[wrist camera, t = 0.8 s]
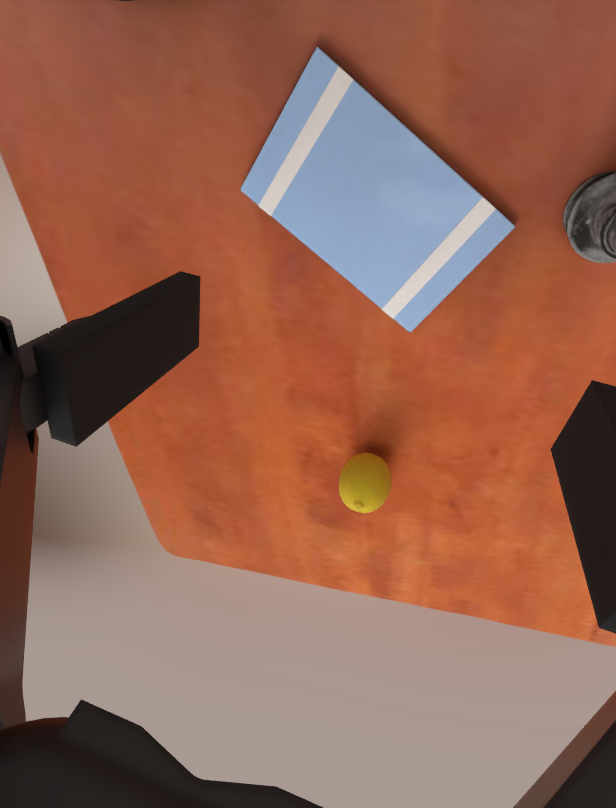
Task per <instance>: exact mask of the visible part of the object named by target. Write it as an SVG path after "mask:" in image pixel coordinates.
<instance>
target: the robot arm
mask: <svg viewBox="0 0 616 808" xmlns="http://www.w3.org/2000/svg"><path fill="white" fill-rule="evenodd" d="M199 312H200V276H196V275H193V274H189V273H185V272H181V271H180V272H178V273H176V274H174V275H172V276H170V277H168V278H166V279H164V280H162V281H160V282H158V283H156V284H154V285H152V286H150V287H148V288H146V289H144V290H142V291H140V292H138V293H136V294H134V295H132V296H130V297H128V298H126V299H124V300H122V301H120V302H118V303H116V304H114V305H112V306H110V307H108V308H106V309H104V310H102V311H100V312H98V313H96V314H94V315H92V316H88V317H84V318H79V319H75V320H73V321H71V322H68V323H67V324H64V325H62V326H61V327H60V328H56V329H54V330H52V331H50V332H49V334H48V333H46V334H44V335H42V336H40V337H38V338H36V339H34V340H32V341H30V342H28V343H26V344H23V345H21V346H19V347H17V344H16V340H15V335H14V331H13V327H12V323H11V321H10V320H9V319H7V318H5V317H2V316H0V808H323V807H321V806H318V805H316V804H314V803H312V802H309V801H307V800H305V799H303V798H301V797H298V796H296V795H294V794H292V793H289V792H287V791H285V790H283V789H280V788H278V787H274V786H263V785H254V784H243V783H232V782H221V781H211V780H203V779H199V778H197V777H195V776H194V775H193V774H191V773H190V772H189V771H188V770H187V769H186V768H185V767H184V766H183V765H182V764H180V762H178V761H177V760H176V759H175V758H174V757H173V756H172V755H171V754H170V753H169V752H168V751H167V750H166V749H165V748H164V747H163V746H162V745H160V744H159V743H158V742H157V741H156V740H155V739H154V738H153V737H152V736H151V735H150V734H149V733H148V732H147V731H146V730H145V729H144V728H142V727H141V726H139V725H137V724H135V723H133V722H131V721H128V720H126V719H124V718H121V717H119V716H117V715H115V714H112V713H110V712H108V711H106V710H104V709H101V708H99V707H97V706H95V705H93V704H90V703H88V702H86V701H84V700H81V701H80V702H79V703H78V705H77V707H76V708H75V710H74V711H73V712H72V714H71V715H70V717H69V718H67V717H59V718H43V719H38V720H33V721H27V722H26V717H25V708H24V700H23V691H22V678H23V663H24V647H25V633H26V618H27V604H28V589H29V574H30V559H31V545H32V544H31V543H32V530H33V514H34V500H35V486H36V471H37V456H38V440H39V438H38V434H37V430H36V428H37V427H38V426H40V425H41V424H43V423H44V422H46V421H47V420H48V424H49V429H50V433H51V438H53V439H56V440H59V441H61V442H65V443H67V444H70V445H73V446H76V447H77V446H78V445H79V444H80V443H81V442H83V441H84V440H85V439H86V438H88V437H89V436H90V435H91V434H93V432H95V431H96V430H97V429H99V428H100V427H101V426H102V425H104V424H105V423H106V422H107V421H108V420H110V419H111V418H112V417H113V416H115V415H116V414H117V413H118V412H119V411H121V410H122V409H123V408H124V407H126V406H127V405H128V404H129V403H130V402H132V401H133V400H134V399H135V398H137V397H138V396H139V395H140V394H141V393H143V392H144V391H145V390H146V389H148V388H149V387H150V386H151V385H152V384H154V383H155V382H156V381H157V380H159V379H160V378H161V377H162V376H163V375H165V374H166V373H167V372H168V371H169V370H171V369H172V368H173V367H174V366H176V365H177V364H178V363H179V362H180V361H182V360H183V359H184V358H185V357H187V356H188V355H189V354H190V353H191V352H193V351H194V350H195V349H196V348H198V347H199ZM551 452H552V456H553V460H554V463H555V467H556V471H557V474H558V478H559V482H560V485H561V489H562V493H563V496H564V500H565V504H566V508H567V511H568V515H569V519H570V522H571V526H572V530H573V533H574V537H575V541H576V545H577V548H578V552H579V556H580V559H581V563H582V567H583V570H584V574H585V578H586V581H587V585H588V589H589V593H590V596H591V600H592V604H593V607H594V611H595V615H596V618H597V622H598V626H599V628H601V629H604V630H607V631H610V632H613V633H616V387H615V386H612V385H608V384H604V383H600V382H597V381H593V380H592V381H591V383H590V385H589V386H588V388H587V390H586V391H585V393H584V395H583V396H582V398H581V400H580V401H579V403H578V405H577V406H576V408H575V410H574V411H573V413H572V415H571V416H570V418H569V420H568V421H567V423H566V425H565V426H564V428H563V430H562V431H561V433H560V435H559V436H558V438H557V440H556V441H555V443H554V445H553V446H552V448H551ZM513 808H616V691H615V692H614V693H613V695H612V696H611V697H610V698H609V699H608V700H607V701H606V703H605V704H604V705H603V706H602V707H601V708H600V709H599V711H598V712H597V713H596V714H595V715H594V716H593V717H592V719H591V720H590V721H589V722H588V723H587V724H586V725H585V726H584V728H583V729H582V730H581V731H580V732H579V733H578V735H577V736H576V737H575V738H574V739H573V740H572V742H571V743H570V744H569V745H568V746H567V747H566V748H565V749H564V751H563V752H562V753H561V754H560V755H559V756H558V757H557V758H556V760H555V761H554V762H553V763H552V764H551V765H550V766H549V768H548V769H547V770H546V771H545V772H544V773H543V774H542V775H541V777H540V778H539V779H538V780H537V781H536V782H535V783H534V785H533V786H532V787H531V788H530V789H529V790H528V791H527V793H526V794H525V795H524V796H523V797H522V798H521V799H520V800H519V802H518V803H517V804H516V805H515V806H514V807H513Z"/></svg>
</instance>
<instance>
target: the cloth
mask: <svg viewBox="0 0 616 808" xmlns="http://www.w3.org/2000/svg"><path fill="white" fill-rule="evenodd" d="M240 190H241V191H242V192H243V193H244V194H246V195H247V196H248V197H249V198H250V199H251V200H253V201H254V202H255V203H256V204H257V205H258V206H259V207H260V208H261V209H263V210H264V211H265V212H266V213H267V214H268V215H270V216H272V217H273V218H274V219H275V220H276V221H278V222H279V223H280V224H281V225H282V226H284V227H285V228H286V229H287V230H288V231H290V232H291V233H292V234H293V235H294V236H296V237H297V238H298V239H299V240H300V241H302V242H303V243H304V244H305V245H306V246H307V247H309V248H310V249H311V250H312V251H313V252H315V253H316V254H317V255H318V256H319V257H321V258H322V259H323V260H324V261H325V262H327V263H328V264H329V265H330V266H331V267H332V268H334V269H335V270H336V271H337V272H338V273H340V274H341V275H342V276H343V277H344V278H346V279H347V280H348V281H349V282H350V283H352V284H353V285H354V286H355V287H356V288H358V289H359V290H360V291H361V292H362V293H363V294H365V295H366V296H367V297H368V298H369V299H371V300H372V301H373V302H374V303H375V304H377V305H378V306H379V307H380V308H381V309H382V310H383V311H384V312H385V313H386V314H388V315H389V316H390V317H391V318H392V319H394V320H396V321H397V322H398V323H399V324H400V325H402V326H403V327H404V328H405V329H406V330H408V331H409V332H411V331H412V330H413V329H414V328H415V327H416V326H417V325H418V324H419V323H420V322H421V321H422V320H423V319H424V318H425V317H426V316H427V315H428V314H429V313H430V312H431V311H432V310H433V309H434V308H435V307H436V306H437V305H438V304H439V303H440V302H441V301H442V300H443V299H444V298H445V297H446V296H447V295H448V294H449V293H450V292H451V291H452V290H453V289H454V288H455V287H456V286H457V285H458V284H459V283H460V282H461V281H462V280H463V279H464V278H465V277H466V276H467V275H468V274H469V273H470V272H471V271H472V270H473V269H474V268H475V267H476V266H477V265H478V264H479V263H480V262H481V261H482V260H483V259H484V258H485V257H486V256H487V255H488V254H489V253H490V252H491V251H492V250H493V249H494V248H495V247H496V246H497V245H498V244H499V243H500V242H501V241H502V240H503V239H504V238H505V237H506V236H507V235H508V234H509V233H510V232H511V231H512V230H513V229H514V228H515V225H514V224H513V223H512V222H511V221H510V220H509V219H507V218H506V217H505V216H504V215H503V214H502V213H501V212H500V211H499V210H498V209H496V208H495V207H494V206H493V205H492V204H491V203H490V202H489V201H488V200H486V199H485V198H484V197H483V196H482V195H481V194H480V193H479V192H478V191H477V190H475V189H474V188H473V187H472V186H471V185H470V184H469V183H468V182H467V181H466V180H464V179H463V178H462V177H461V176H460V175H459V174H458V173H457V172H456V171H455V170H453V169H452V168H451V167H450V166H449V165H448V164H447V163H446V162H445V161H444V160H442V159H441V158H440V157H439V156H438V155H437V154H436V153H435V152H434V151H432V150H431V149H430V148H429V147H428V146H427V145H426V144H425V143H424V142H423V141H421V140H420V139H419V138H418V137H417V136H416V135H415V134H414V133H413V132H412V131H410V130H409V129H408V128H407V127H406V126H405V125H404V124H403V123H402V122H401V121H399V120H398V119H397V118H396V117H395V116H394V115H393V114H392V113H391V112H390V111H388V110H387V109H386V108H385V107H384V106H383V105H382V104H381V103H380V102H378V101H377V100H376V99H375V98H374V97H373V96H372V95H371V94H370V93H369V92H367V91H366V90H365V89H364V88H363V87H362V86H361V85H360V84H359V83H358V82H356V81H355V80H354V79H353V78H352V77H351V76H350V75H349V74H348V73H347V72H345V71H344V70H343V69H342V68H341V67H340V66H339V65H338V64H337V63H336V62H334V61H333V60H332V59H331V58H330V57H329V56H328V55H327V54H326V53H324V52H323V51H322V50H321V49H320V48H319V47H316V49H315V51H314V53H313V55H312V57H311V58H310V60H309V62H308V64H307V66H306V68H305V70H304V71H303V73H302V75H301V77H300V79H299V81H298V83H297V85H296V86H295V88H294V90H293V92H292V94H291V96H290V98H289V99H288V101H287V103H286V105H285V107H284V109H283V111H282V112H281V114H280V116H279V118H278V120H277V122H276V124H275V125H274V127H273V129H272V131H271V133H270V135H269V137H268V138H267V140H266V142H265V144H264V146H263V148H262V150H261V152H260V153H259V155H258V157H257V159H256V161H255V163H254V165H253V166H252V168H251V170H250V172H249V174H248V176H247V178H246V179H245V181H244V183H243V185H242V187H241V189H240Z"/></svg>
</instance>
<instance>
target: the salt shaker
mask: <svg viewBox="0 0 616 808" xmlns="http://www.w3.org/2000/svg"><path fill="white" fill-rule="evenodd" d="M563 224H564V228H565V231H566V233H567V234H568V238H569V241H570V244H571V245H572V247H573V248H574V250H575V251H576V252H577V253H578V254H579V255H581V256H582V257H583V258H585V259H587V260H590V261H593V262H598V263H611V262H616V172H615V171H611V172H606V173H601V174H599V175H596V176H594V177H592V178H590V179H588V180H587V181H586V182H584V183H583V184H581V185H580V186H579V187H578V188H577V189H576V190H575V192H574V193H573V194H572V195H571V197H570V199H569V200H568V202H567V204H566V207H565V210H564V214H563Z"/></svg>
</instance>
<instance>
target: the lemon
mask: <svg viewBox="0 0 616 808" xmlns="http://www.w3.org/2000/svg"><path fill="white" fill-rule="evenodd" d="M390 488H391V472H390V469H389V467H388V465H387V464H386V462H385V461H384V460H383V459H382V458H381V457H379V456H377V455H375V454H372V453H360V454H357V455H355V456H353V457H352V458H350V459H349V460H348V462H347V463H346V464H345V465H344V467H343V469H342V472H341V474H340V478H339V492H340V495H341V498H342V500H343V502H344V503H345V504H346V505H347V506H348V507H349V508H350V509H352V510H354V511H356V512H360V513H368V512H372V511H375V510H376V509H378V508H379V507H380V506H381V505H382V504H383V503H384V501H385V500H386V499H387V497H388V495H389V492H390Z"/></svg>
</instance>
